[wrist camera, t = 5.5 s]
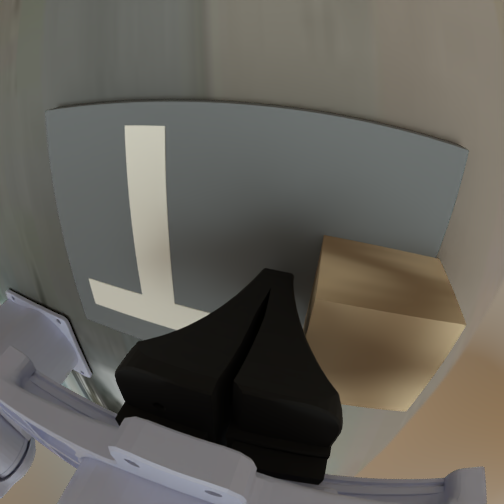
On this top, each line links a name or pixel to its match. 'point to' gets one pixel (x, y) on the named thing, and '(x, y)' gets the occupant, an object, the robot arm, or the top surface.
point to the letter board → (231, 200)
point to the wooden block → (380, 322)
